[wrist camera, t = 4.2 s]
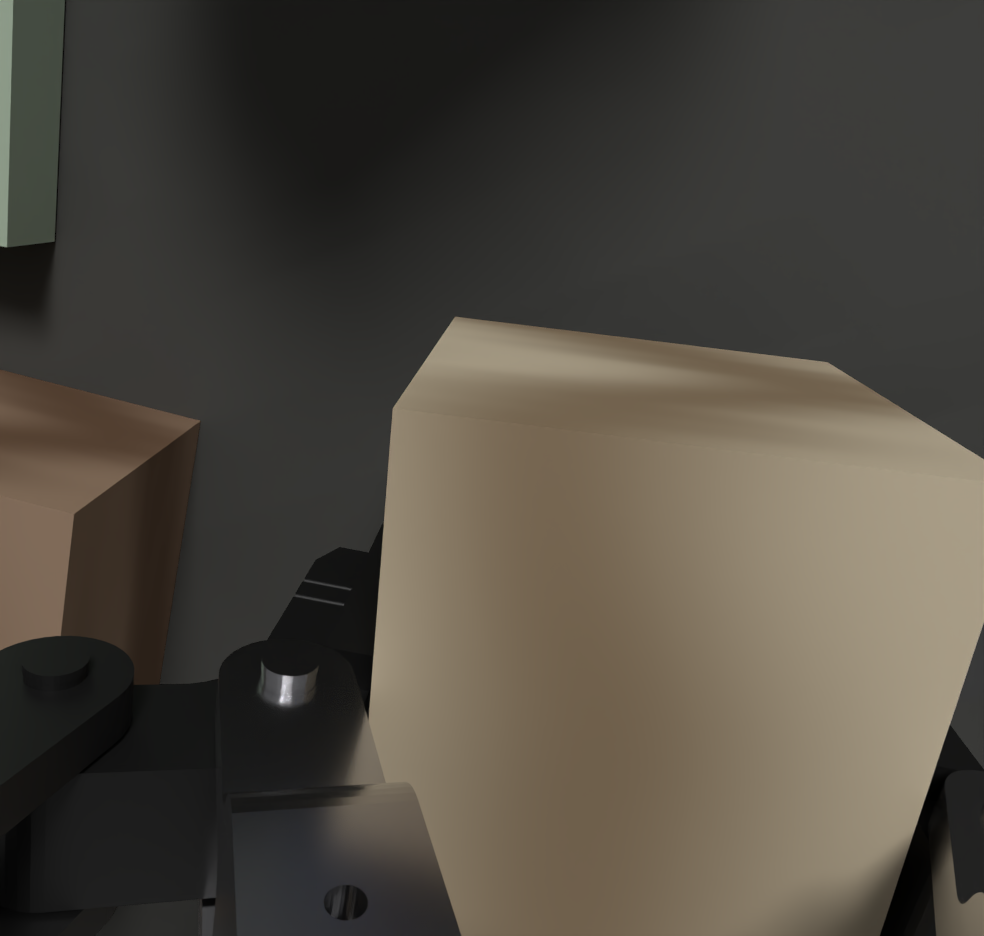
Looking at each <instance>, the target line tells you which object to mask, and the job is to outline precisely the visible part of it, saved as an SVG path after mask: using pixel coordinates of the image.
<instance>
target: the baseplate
mask: <svg viewBox="0 0 984 936" xmlns="http://www.w3.org/2000/svg"><path fill="white" fill-rule="evenodd" d="M64 11H65V0H0V246H3V247H14V246H23V245H31V244H39V243H47V242H55V221H56V198H57V175H58V151H59V128H60V104H61V81H62V58H63V34H64Z"/></svg>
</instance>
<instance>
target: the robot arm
mask: <svg viewBox="0 0 984 936" xmlns="http://www.w3.org/2000/svg"><path fill="white" fill-rule="evenodd" d="M383 529H384V522H383V524H382V526H381V528H380V530H379V532H378V534H377V536H376V539H375V541H374V543H373V545H372V547H371V549H370V551H369V553H367V552H362V551H357V550H352V549H347V548H341V547H339V548H337V549H336V550H334V551H332V552H330V553H328V554H326V555H324V556H322V557H320V558H318V559H317V560H315V562H314V564H313V565H312V567H311V569H310V570H309V572H308V574H307V575H306V577H305V580H304V582H302V583H301V585H300V587H299V588H298V590H297V592H296V595H295V597H293V598H292V600H291V602H290V603H289V605H288V607H287V608H286V610H285V611H284V613H283V615H282V616H281V618H280V620H279V621H278V623H277V625H276V626H275V628H274V630H273V631H272V633H271V635H270V636H269V638H268V639H267V640H264V641H259V642H255V643H251V644H249V645H246V646H243V647H241V648H239V649H238V650H236V651H234V652H233V653H231V654H230V655H229V656H228V657H227V658H226V659H225V660H224V661H223V663H222V665H221V667H220V670H219V678H218V679H216V680H211V681H207V682H200V683H193V684H158V685H134V665H133V662H132V660H131V659H130V657H129V656H128V655H127V654H126V653H125V652H124V651H123V650H121V649H120V648H118V647H117V646H115V645H113V644H110V643H108V642H105V641H102V640H98V639H94V638H88V637H81V636H52V637H43V638H37V639H31V640H28V641H24V642H20V643H17V644H14V645H12V646H9V647H6V648H4V649H2V650H0V936H95V935H96V934H97V932H98V931H99V930H100V929H101V928H102V927H103V926H104V925H105V924H106V923H107V921H108V920H109V919H110V918H111V916H112V915H113V914H114V912H115V910H116V908H117V906H126V905H137V904H148V903H159V902H171V901H182V900H193V899H199V911H198V936H461V933H460V930H459V927H458V923H457V920H456V917H455V914H454V911H453V908H452V905H451V902H450V898H449V895H448V892H447V889H446V886H445V883H444V880H443V876H442V873H441V870H440V867H439V864H438V861H437V858H436V854H435V851H434V848H433V845H432V842H431V839H430V836H429V833H428V829H427V826H426V823H425V820H424V817H423V814H422V811H421V807H420V804H419V801H418V798H417V796H416V793H415V791H414V789H413V787H412V786H411V785H410V784H409V783H408V782H394V783H386V782H385V778H384V775H383V771H382V767H381V764H380V760H379V757H378V753H377V749H376V746H375V742H374V739H373V735H372V731H371V728H370V724H369V721H368V720H369V707H370V695H371V682H372V669H373V656H374V644H375V631H376V618H377V605H378V593H379V580H380V567H381V554H382V542H383ZM880 936H984V769H983V768H982V767H981V765H980V764H979V763H978V761H977V760H976V759H975V757H974V756H973V755H972V753H971V752H970V751H969V749H968V748H967V747H966V745H965V744H964V743H963V742H962V740H961V739H960V738H959V736H958V735H957V734H956V732H955V731H954V730H953V728H952V727H951V726H950V725H949V728H948V731H947V734H946V737H945V740H944V743H943V747H942V750H941V753H940V756H939V759H938V762H937V765H936V768H935V771H934V774H933V777H932V780H931V783H930V786H929V789H928V792H927V795H926V798H925V801H924V804H923V807H922V810H921V813H920V816H919V819H918V822H917V825H916V828H915V831H914V834H913V837H912V840H911V843H910V846H909V849H908V852H907V855H906V858H905V861H904V864H903V867H902V870H901V873H900V876H899V879H898V882H897V885H896V888H895V891H894V894H893V897H892V900H891V903H890V906H889V909H888V912H887V915H886V918H885V921H884V924H883V927H882V930H881V933H880Z"/></svg>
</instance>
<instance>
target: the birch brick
mask: <svg viewBox="0 0 984 936" xmlns="http://www.w3.org/2000/svg"><path fill="white" fill-rule="evenodd" d="M983 623H984V459H982V458H981V457H979V456H977V455H976V454H974V453H972V452H971V451H969V450H968V449H966V448H964V447H963V446H961V445H960V444H958V443H956V442H955V441H953V440H952V439H950V438H948V437H947V436H945V435H944V434H942V433H940V432H939V431H937V430H935V429H934V428H932V427H931V426H929V425H927V424H926V423H924V422H923V421H921V420H919V419H918V418H916V417H915V416H913V415H911V414H910V413H908V412H907V411H905V410H903V409H902V408H900V407H898V406H897V405H895V404H894V403H892V402H890V401H889V400H887V399H886V398H884V397H882V396H881V395H879V394H878V393H876V392H874V391H873V390H871V389H869V388H868V387H866V386H865V385H863V384H861V383H860V382H858V381H857V380H855V379H853V378H852V377H850V376H849V375H847V374H845V373H844V372H842V371H841V370H839V369H837V368H836V367H834V366H832V365H831V364H829V363H828V362H821V361H813V360H805V359H797V358H788V357H780V356H772V355H764V354H756V353H748V352H739V351H731V350H723V349H715V348H707V347H698V346H690V345H682V344H674V343H666V342H657V341H649V340H641V339H633V338H625V337H617V336H608V335H600V334H592V333H584V332H576V331H567V330H559V329H551V328H543V327H535V326H527V325H518V324H510V323H502V322H494V321H486V320H477V319H469V318H461V317H455V318H454V319H453V321H452V322H451V324H450V325H449V327H448V328H447V329H446V331H445V332H444V334H443V335H442V337H441V338H440V340H439V341H438V343H437V344H436V346H435V347H434V349H433V350H432V352H431V353H430V354H429V356H428V357H427V359H426V360H425V362H424V363H423V365H422V366H421V368H420V369H419V371H418V372H417V374H416V375H415V377H414V378H413V379H412V381H411V382H410V384H409V385H408V387H407V388H406V390H405V391H404V393H403V394H402V396H401V397H400V399H399V400H398V402H397V403H396V404H395V406H394V407H393V414H392V427H391V439H390V452H389V465H388V478H387V490H386V503H385V516H384V529H383V542H382V554H381V567H380V580H379V593H378V605H377V618H376V631H375V644H374V656H373V669H372V682H371V695H370V707H369V720H368V721H369V724H370V728H371V731H372V735H373V739H374V742H375V746H376V749H377V753H378V757H379V760H380V764H381V767H382V771H383V775H384V778H385V782H386V783H394V782H408V783H409V784H410V785H411V786H412V787H413V789H414V791H415V793H416V796H417V798H418V801H419V804H420V807H421V811H422V814H423V817H424V820H425V823H426V826H427V829H428V833H429V836H430V839H431V842H432V845H433V848H434V851H435V854H436V858H437V861H438V864H439V867H440V870H441V873H442V876H443V880H444V883H445V886H446V889H447V892H448V895H449V898H450V902H451V905H452V908H453V911H454V914H455V917H456V920H457V923H458V927H459V930H460V933H461V936H880V933H881V930H882V927H883V924H884V921H885V918H886V915H887V912H888V909H889V906H890V903H891V900H892V897H893V894H894V891H895V888H896V885H897V882H898V879H899V876H900V873H901V870H902V867H903V864H904V861H905V858H906V855H907V852H908V849H909V846H910V843H911V840H912V837H913V834H914V831H915V828H916V825H917V822H918V819H919V816H920V813H921V810H922V807H923V804H924V801H925V798H926V795H927V792H928V789H929V786H930V783H931V780H932V777H933V774H934V771H935V768H936V765H937V762H938V759H939V756H940V753H941V750H942V747H943V743H944V740H945V737H946V734H947V731H948V728H949V725H950V722H951V719H952V716H953V713H954V710H955V707H956V704H957V701H958V698H959V695H960V692H961V689H962V686H963V683H964V680H965V677H966V674H967V671H968V668H969V665H970V662H971V659H972V656H973V653H974V650H975V647H976V644H977V641H978V638H979V635H980V632H981V629H982V626H983Z"/></svg>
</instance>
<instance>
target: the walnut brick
mask: <svg viewBox="0 0 984 936" xmlns="http://www.w3.org/2000/svg"><path fill="white" fill-rule="evenodd" d="M200 422H201V421H199V420H195V419H191V418H187V417H183V416H179V415H175V414H171V413H167V412H163V411H159V410H156V409H152V408H148V407H144V406H140V405H136V404H132V403H128V402H124V401H120V400H116V399H113V398H109V397H105V396H101V395H97V394H93V393H89V392H85V391H81V390H77V389H73V388H70V387H66V386H62V385H58V384H54V383H50V382H46V381H42V380H38V379H34V378H30V377H27V376H23V375H19V374H15V373H11V372H7V371H3V370H0V650H2V649H4V648H6V647H9V646H12V645H14V644H17V643H20V642H24V641H28V640H31V639H37V638H43V637H52V636H81V637H88V638H94V639H98V640H102V641H105V642H108V643H110V644H113V645H115V646H117V647H118V648H120V649H121V650H123V651H124V652H125V653H126V654H127V655H128V656H129V657H130V659H131V660H132V662H133V665H134V685H158V684H159V683H160V677H161V671H162V664H163V658H164V651H165V645H166V639H167V632H168V626H169V619H170V613H171V607H172V600H173V594H174V588H175V581H176V575H177V568H178V562H179V556H180V549H181V543H182V536H183V530H184V524H185V517H186V511H187V505H188V498H189V492H190V485H191V479H192V473H193V466H194V460H195V453H196V447H197V441H198V434H199V428H200Z"/></svg>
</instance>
